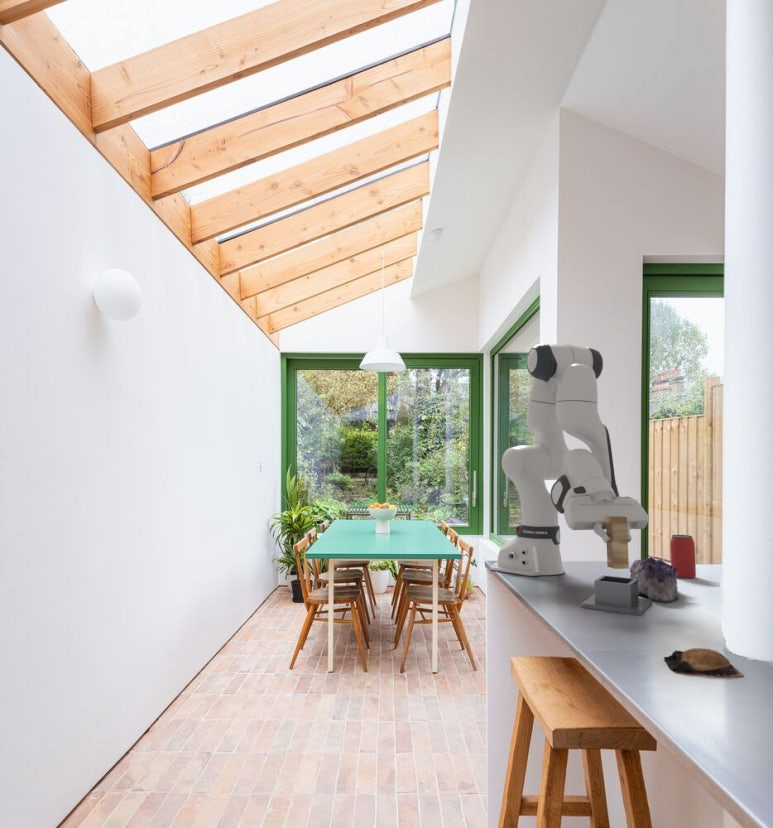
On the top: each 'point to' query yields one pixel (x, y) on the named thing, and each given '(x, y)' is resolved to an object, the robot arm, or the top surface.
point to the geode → (655, 579)
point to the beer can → (683, 556)
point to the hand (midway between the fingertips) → (618, 540)
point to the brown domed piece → (701, 663)
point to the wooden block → (617, 542)
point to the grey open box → (617, 596)
